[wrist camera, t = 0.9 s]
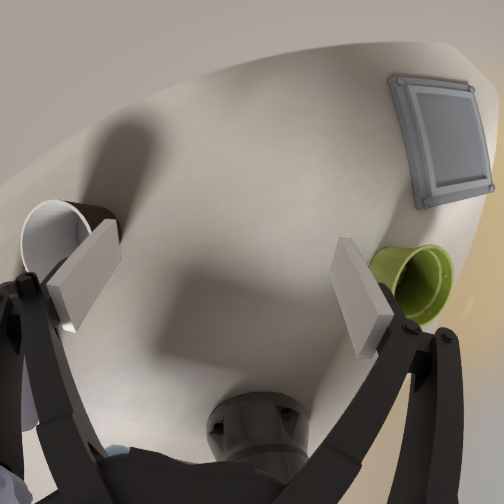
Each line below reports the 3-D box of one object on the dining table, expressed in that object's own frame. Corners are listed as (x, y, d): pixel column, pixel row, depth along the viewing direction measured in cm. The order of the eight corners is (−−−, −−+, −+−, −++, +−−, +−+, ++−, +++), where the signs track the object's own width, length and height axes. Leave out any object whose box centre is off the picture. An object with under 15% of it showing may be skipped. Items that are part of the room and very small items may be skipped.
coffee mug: (86, 183, 29) (40, 181, 19) (143, 221, 31) (112, 233, 21) (50, 265, 30) (4, 288, 20) (101, 302, 32) (66, 338, 22)
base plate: (487, 191, 35) (496, 192, 33) (415, 208, 34) (426, 209, 32) (465, 87, 31) (474, 85, 29) (387, 79, 30) (396, 74, 28)
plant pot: (342, 274, 35) (376, 298, 26) (387, 218, 34) (430, 226, 25) (382, 315, 37) (417, 342, 28) (423, 263, 36) (463, 280, 27)
